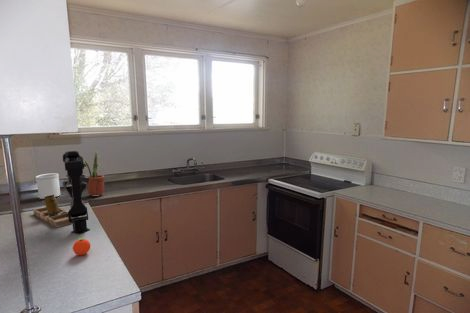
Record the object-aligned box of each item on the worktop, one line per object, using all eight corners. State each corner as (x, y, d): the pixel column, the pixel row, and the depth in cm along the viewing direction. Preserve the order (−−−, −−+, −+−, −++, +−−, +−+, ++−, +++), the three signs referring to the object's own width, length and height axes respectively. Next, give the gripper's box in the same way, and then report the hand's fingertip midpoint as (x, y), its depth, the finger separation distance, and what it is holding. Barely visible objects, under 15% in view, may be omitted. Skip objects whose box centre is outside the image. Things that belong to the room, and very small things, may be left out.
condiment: (55, 213, 183) (49, 195, 182) (65, 211, 180) (60, 192, 179) (45, 217, 176) (39, 198, 175) (55, 215, 173) (49, 195, 172)
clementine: (70, 254, 130) (68, 238, 129) (86, 248, 135) (84, 234, 134) (77, 259, 125) (75, 244, 124) (93, 253, 130) (92, 238, 129)
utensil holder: (36, 201, 215) (33, 178, 212) (40, 196, 228) (37, 174, 226) (59, 198, 221) (57, 175, 218) (62, 194, 234) (59, 172, 232)
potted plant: (104, 192, 236) (100, 149, 231) (107, 196, 223) (104, 151, 218) (80, 196, 227) (75, 151, 222) (82, 200, 214) (77, 153, 209)
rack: (78, 221, 171) (78, 216, 170) (55, 227, 162) (55, 222, 161) (54, 209, 194) (54, 205, 194) (33, 214, 185) (33, 209, 185)
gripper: (94, 172, 169) (97, 198, 171) (80, 169, 181) (83, 193, 183) (74, 175, 161) (77, 203, 163) (61, 171, 172) (63, 197, 175)
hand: (75, 199), depth 171 cm, fingers open, 9 cm apart
